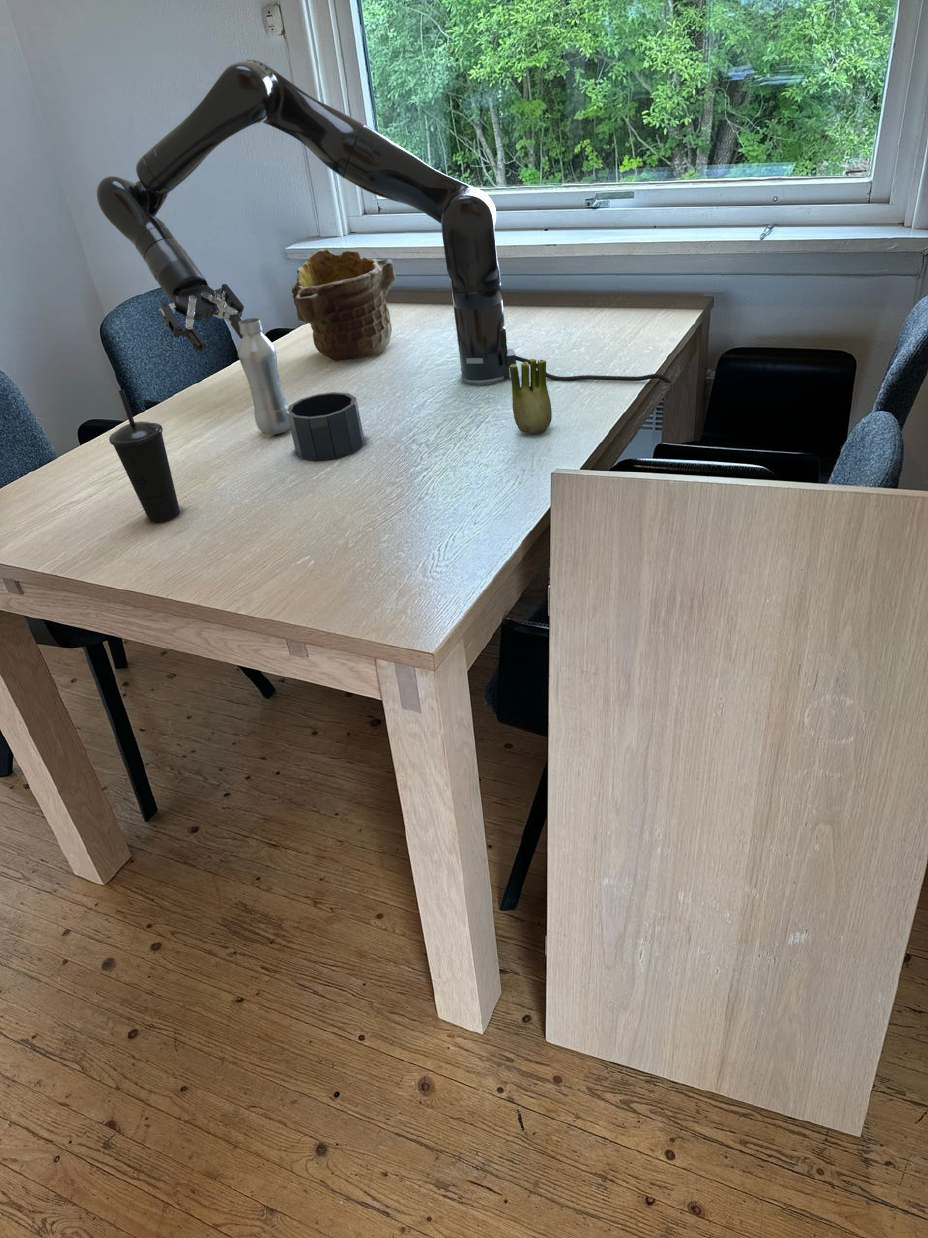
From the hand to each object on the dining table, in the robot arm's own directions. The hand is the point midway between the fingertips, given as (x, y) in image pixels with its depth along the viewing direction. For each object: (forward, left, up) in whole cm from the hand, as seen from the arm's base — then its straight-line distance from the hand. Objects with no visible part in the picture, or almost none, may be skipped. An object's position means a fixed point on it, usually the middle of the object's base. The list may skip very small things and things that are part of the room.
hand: (224, 342), depth 159 cm
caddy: (-19, +19, -15) cm, 30 cm away
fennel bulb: (-54, +23, -15) cm, 60 cm away
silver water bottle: (-8, +9, -15) cm, 19 cm away
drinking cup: (+5, +39, -15) cm, 42 cm away
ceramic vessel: (-18, -33, -15) cm, 41 cm away
